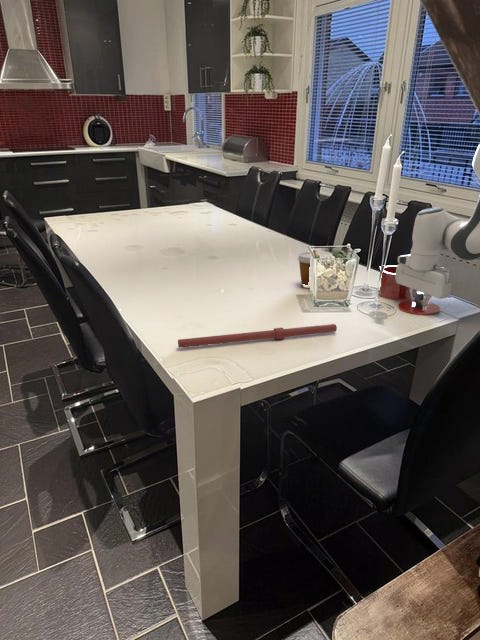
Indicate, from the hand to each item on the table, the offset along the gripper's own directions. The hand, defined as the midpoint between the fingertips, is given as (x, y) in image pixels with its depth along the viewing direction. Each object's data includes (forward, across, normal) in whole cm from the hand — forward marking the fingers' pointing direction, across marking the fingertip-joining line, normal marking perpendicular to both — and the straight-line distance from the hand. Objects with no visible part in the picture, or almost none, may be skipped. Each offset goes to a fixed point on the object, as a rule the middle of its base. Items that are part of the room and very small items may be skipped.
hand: (419, 303), depth 149 cm
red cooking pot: (+2, +14, -3) cm, 14 cm away
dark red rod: (+2, +1, +56) cm, 57 cm away
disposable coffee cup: (+2, +38, +17) cm, 42 cm away
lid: (+2, 0, 0) cm, 2 cm away
